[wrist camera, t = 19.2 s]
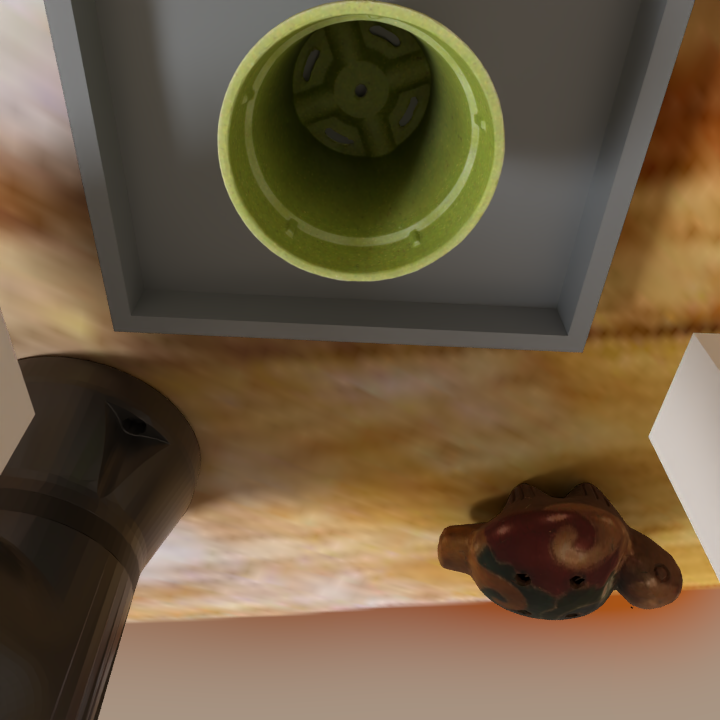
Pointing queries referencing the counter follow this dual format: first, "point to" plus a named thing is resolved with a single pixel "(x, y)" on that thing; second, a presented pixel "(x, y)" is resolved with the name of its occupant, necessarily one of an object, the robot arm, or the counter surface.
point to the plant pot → (361, 141)
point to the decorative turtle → (560, 556)
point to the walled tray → (200, 142)
